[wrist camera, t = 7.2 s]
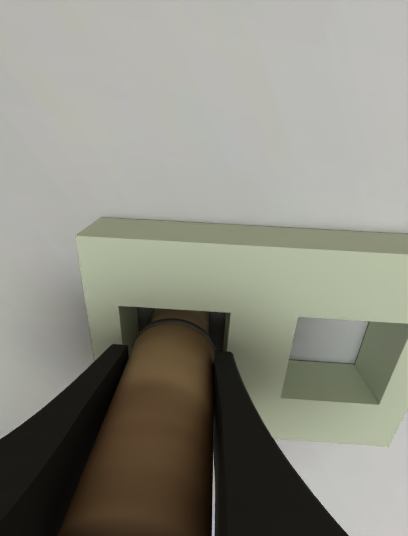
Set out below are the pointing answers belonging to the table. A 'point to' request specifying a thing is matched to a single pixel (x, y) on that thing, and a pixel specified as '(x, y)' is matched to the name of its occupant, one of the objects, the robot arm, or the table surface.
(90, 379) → the robot arm
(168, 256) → the board
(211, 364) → the peg
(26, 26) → the table surface
